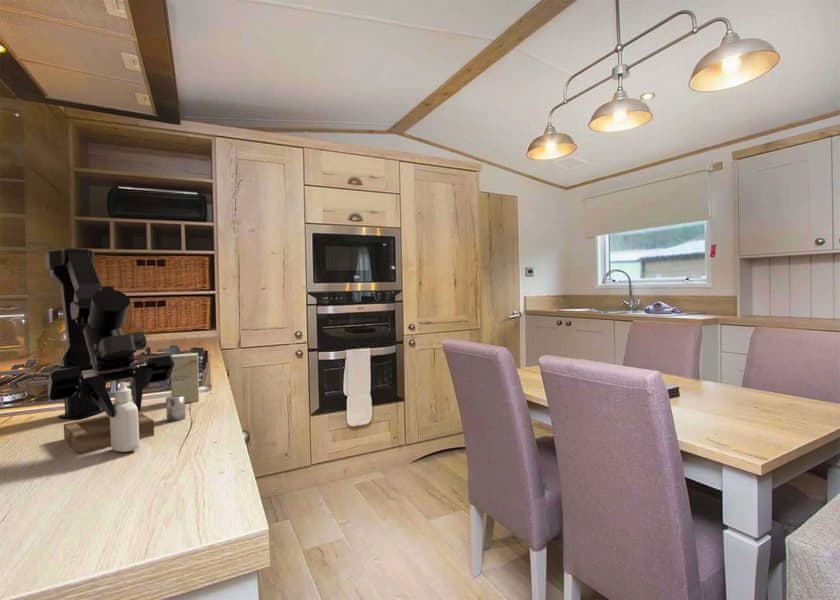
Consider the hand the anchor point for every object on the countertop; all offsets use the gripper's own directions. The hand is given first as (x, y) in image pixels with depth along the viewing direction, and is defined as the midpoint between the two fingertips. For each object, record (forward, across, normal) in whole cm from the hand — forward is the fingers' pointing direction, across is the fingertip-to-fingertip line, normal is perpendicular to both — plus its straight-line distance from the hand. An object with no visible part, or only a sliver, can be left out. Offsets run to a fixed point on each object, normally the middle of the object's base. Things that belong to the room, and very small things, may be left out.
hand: (126, 413), depth 75 cm
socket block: (-3, 0, +14) cm, 14 cm away
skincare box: (-14, +20, +25) cm, 35 cm away
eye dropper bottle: (+4, 0, +6) cm, 7 cm away
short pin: (-4, +13, +15) cm, 20 cm away
